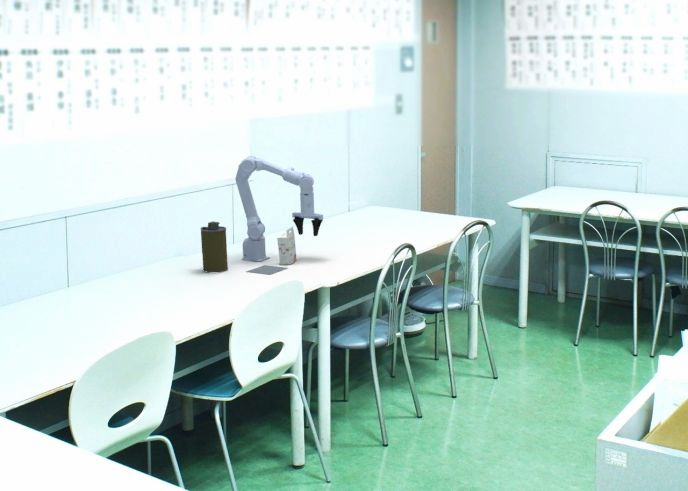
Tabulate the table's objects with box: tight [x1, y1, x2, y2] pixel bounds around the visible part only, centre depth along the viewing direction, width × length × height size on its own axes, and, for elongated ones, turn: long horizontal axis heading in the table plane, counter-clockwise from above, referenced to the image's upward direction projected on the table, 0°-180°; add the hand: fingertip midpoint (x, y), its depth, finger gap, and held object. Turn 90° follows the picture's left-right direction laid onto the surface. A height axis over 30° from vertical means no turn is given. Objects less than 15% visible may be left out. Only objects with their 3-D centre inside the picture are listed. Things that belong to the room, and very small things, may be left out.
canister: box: [200, 221, 229, 273], centre depth 405 cm, size 11×10×20 cm
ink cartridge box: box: [276, 226, 297, 266], centre depth 416 cm, size 9×5×15 cm, turn 164°
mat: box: [245, 264, 289, 276], centre depth 405 cm, size 12×13×1 cm
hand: (308, 235), depth 421 cm, fingers open, 7 cm apart
